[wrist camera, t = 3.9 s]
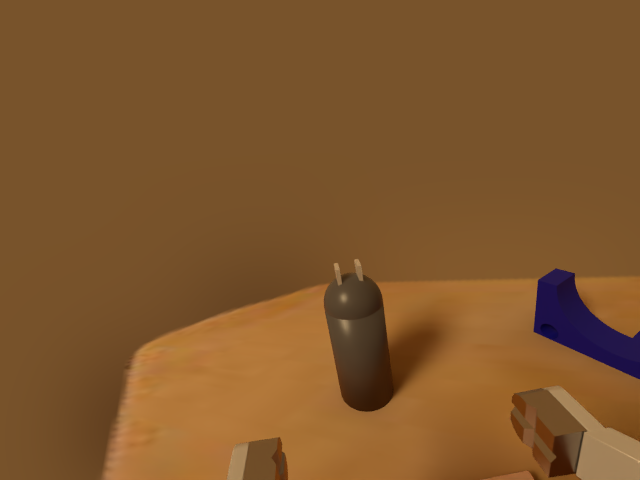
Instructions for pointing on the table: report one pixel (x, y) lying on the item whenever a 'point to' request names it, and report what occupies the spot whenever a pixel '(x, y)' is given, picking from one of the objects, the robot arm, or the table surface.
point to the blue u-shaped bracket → (581, 325)
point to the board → (513, 476)
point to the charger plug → (359, 339)
